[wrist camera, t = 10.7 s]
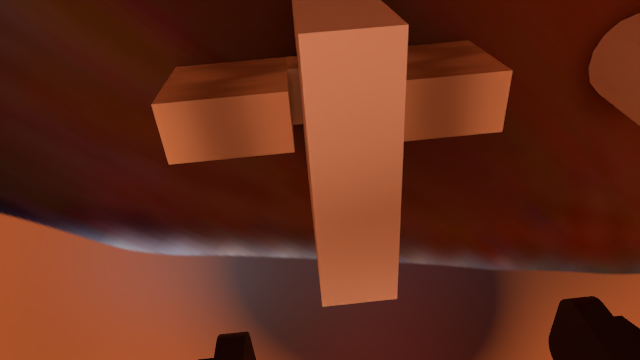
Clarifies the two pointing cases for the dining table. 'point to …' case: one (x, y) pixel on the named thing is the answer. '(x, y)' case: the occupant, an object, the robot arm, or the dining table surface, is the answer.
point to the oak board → (286, 106)
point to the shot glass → (619, 67)
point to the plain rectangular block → (353, 141)
